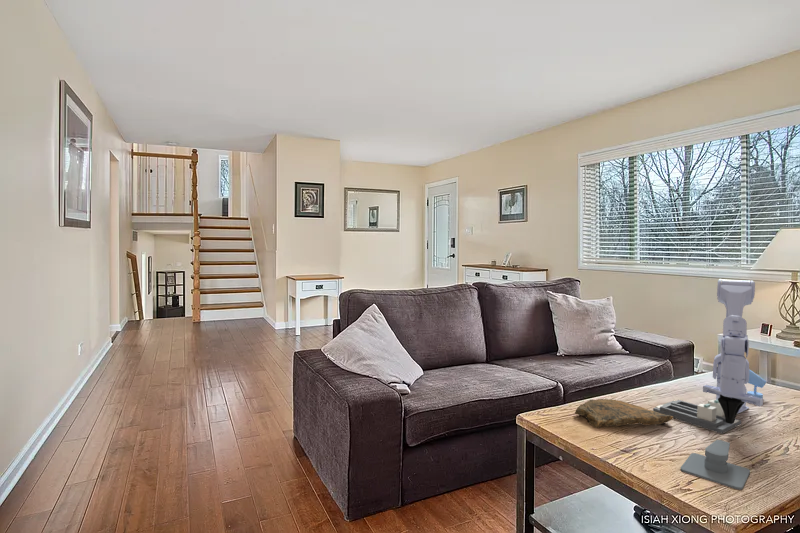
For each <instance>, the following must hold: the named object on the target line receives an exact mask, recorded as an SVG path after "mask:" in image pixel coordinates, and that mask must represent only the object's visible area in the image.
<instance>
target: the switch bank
mask: <svg viewBox="0 0 800 533" xmlns="http://www.w3.org/2000/svg"><path fill="white" fill-rule="evenodd" d="M698 405H699V404H696V403H695V404H694V403H691V402H688V401H684V400H681V399H677V400H672V401H668V402H666V403H664V404H659V405H656V406H655V407H653V409H652V411H655V412H658V413H661V414H664V415H669V416H673V419H674V418H675V419H674V420H678V421H681V422H684V423H686V424H687V423H688V424H690V425H694V426H697V427H700V428H703V429H706V430H709V431H712V432H716V433H717V434H724V433H726V432H729V431H730V430H733V429H734V428H736V427H739V426H741V425H742V420H741V419H737V418H735V421H734V423H732V424H730V423H726V419H725V416H724V417H721V416H717V415H716V421H714V422H711V421H708V420H704V419H701V418H698V417H697V407H698Z"/></svg>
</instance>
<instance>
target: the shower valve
mask: <svg viewBox="0 0 800 533" xmlns="http://www.w3.org/2000/svg"><path fill="white" fill-rule="evenodd" d="M730 445H731V443H730V442H728V441H724V440H721V439H716V440H714V441H713V442H712V443H710V444H709V445H708V446H706V447H705V449H704V453H705V454H704V455H703V454H700V453H696V452H691V453H690V455H689V456H688V457H687V458H686V460H685V461H684V463H683V464H682V465H681V466H680V471H681V472H683V473H685V474H688V475H691V476H695V477H697V478H700V479H703V480H704V479H705V480H707V481H709V482H714V483H717V484H719V485H722V486H726V487H728V488H732V489H735V490H743V489H744V487H745V486H746V484H747V483H746V482H747V480H748V478H749V477H750V475H751V470H750V469H749V468H747V467H744V466H741V465H737V464H734V463H730V462H728V461H729V452H730V447H731V446H730Z"/></svg>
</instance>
